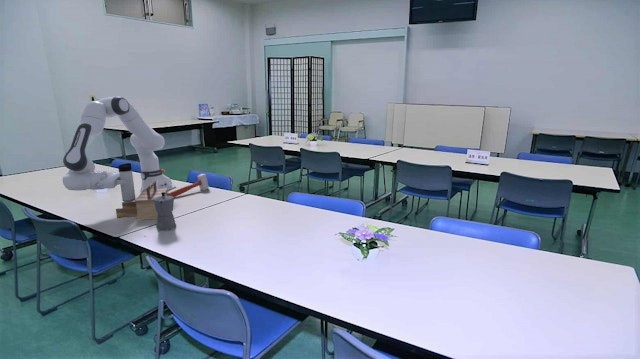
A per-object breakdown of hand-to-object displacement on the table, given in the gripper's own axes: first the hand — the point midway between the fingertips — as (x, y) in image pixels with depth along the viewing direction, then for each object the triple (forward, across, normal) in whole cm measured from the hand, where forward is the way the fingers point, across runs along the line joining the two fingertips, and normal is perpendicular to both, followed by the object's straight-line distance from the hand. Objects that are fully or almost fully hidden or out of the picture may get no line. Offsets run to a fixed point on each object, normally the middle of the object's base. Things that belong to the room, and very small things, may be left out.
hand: (128, 179), depth 191 cm
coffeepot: (+21, -25, +19) cm, 38 cm away
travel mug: (-1, 0, +12) cm, 12 cm away
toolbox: (+6, 0, +19) cm, 20 cm away
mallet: (+26, +35, +20) cm, 48 cm away
